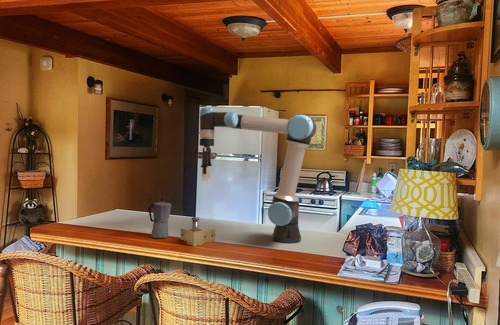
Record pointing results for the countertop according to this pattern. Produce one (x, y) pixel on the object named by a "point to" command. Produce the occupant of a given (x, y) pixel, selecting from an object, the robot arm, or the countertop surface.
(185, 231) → the wooden box
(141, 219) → the countertop surface
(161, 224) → the moka pot
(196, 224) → the pin
